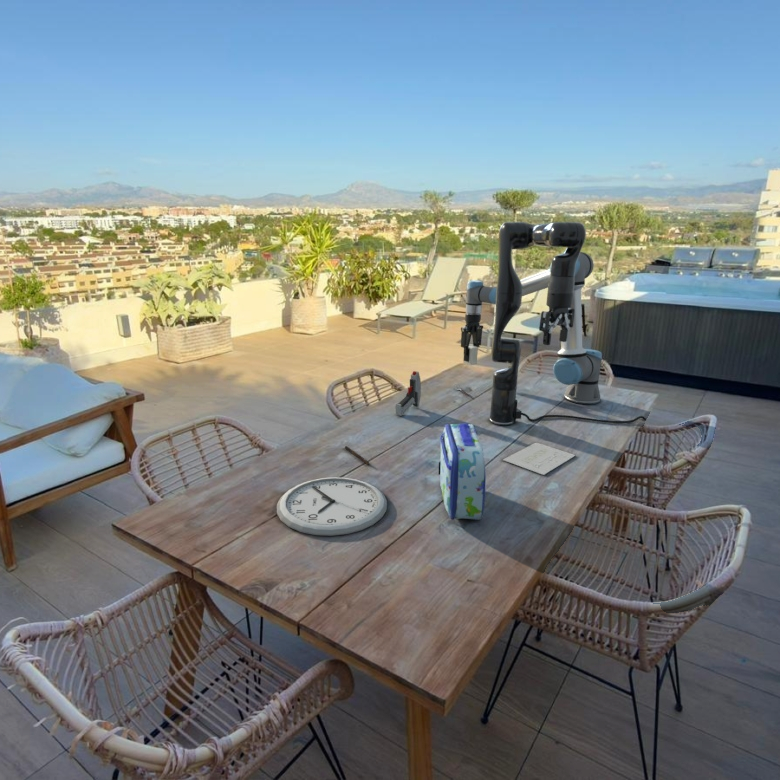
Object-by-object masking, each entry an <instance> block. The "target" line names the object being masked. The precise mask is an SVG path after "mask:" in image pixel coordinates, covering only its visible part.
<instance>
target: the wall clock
mask: <svg viewBox="0 0 780 780" xmlns="http://www.w3.org/2000/svg"><path fill="white" fill-rule="evenodd" d="M387 509H388V500H387V498H386V496H385V494H384V493H383V492H382V491H381V490H380V489H379V488H377V487H376V486H374V485H372V484H371V483H369V482H365V481H362V480H359V479H355V478H349V477H338V476H337V477H335V476H333V477H332V476H331V477H322V478H317V479H312V480H307V481H305V482H302V483H299V484H297V485H295V486H293V487H292V488H290V489H288V490H287V491H286V492H285V493H284V494H283V495H281V496H280V498H279V499H278V502H277V503H276V515H277V517H278V518H279V520H280V521H281V522H282V523H283V524H285V525H286V526H287V527H288V528H290V529H293V530H295V531H297V532H299V533H303V534H308V535H312V536H327V537H328V536H329V537H331V536H332V537H333V536H342V535H350V534H352V533H356V532H361V531H363V530H366V529H368V528H369V527H372V526H373V525H375V524H376V523H378V522H379V521H380V520H381V519H382V518H383V517H384V516H385V514H386V512H387Z"/></svg>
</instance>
